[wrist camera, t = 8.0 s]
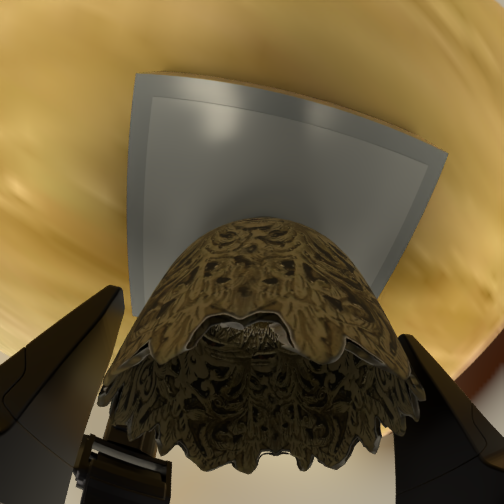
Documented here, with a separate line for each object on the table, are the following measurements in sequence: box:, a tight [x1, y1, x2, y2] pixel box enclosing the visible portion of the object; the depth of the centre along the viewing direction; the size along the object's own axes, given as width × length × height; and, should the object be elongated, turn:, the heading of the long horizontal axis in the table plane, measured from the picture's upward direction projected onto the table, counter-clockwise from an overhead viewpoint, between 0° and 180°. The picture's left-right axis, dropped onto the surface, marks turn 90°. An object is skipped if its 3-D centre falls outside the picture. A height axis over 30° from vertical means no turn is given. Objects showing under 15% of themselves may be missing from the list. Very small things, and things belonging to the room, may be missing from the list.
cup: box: [97, 216, 426, 474], centre depth 9 cm, size 8×7×8 cm
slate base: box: [127, 71, 448, 317], centre depth 14 cm, size 12×12×3 cm
